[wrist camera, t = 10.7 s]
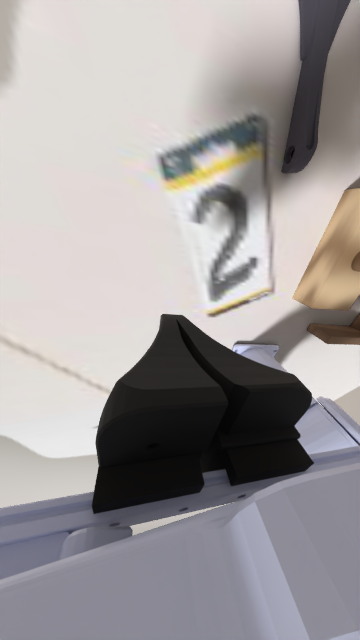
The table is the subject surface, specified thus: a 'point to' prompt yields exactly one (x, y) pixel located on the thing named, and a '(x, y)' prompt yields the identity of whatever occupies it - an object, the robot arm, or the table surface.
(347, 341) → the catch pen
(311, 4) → the bracket
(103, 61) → the table surface
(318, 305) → the wooden box with knob
